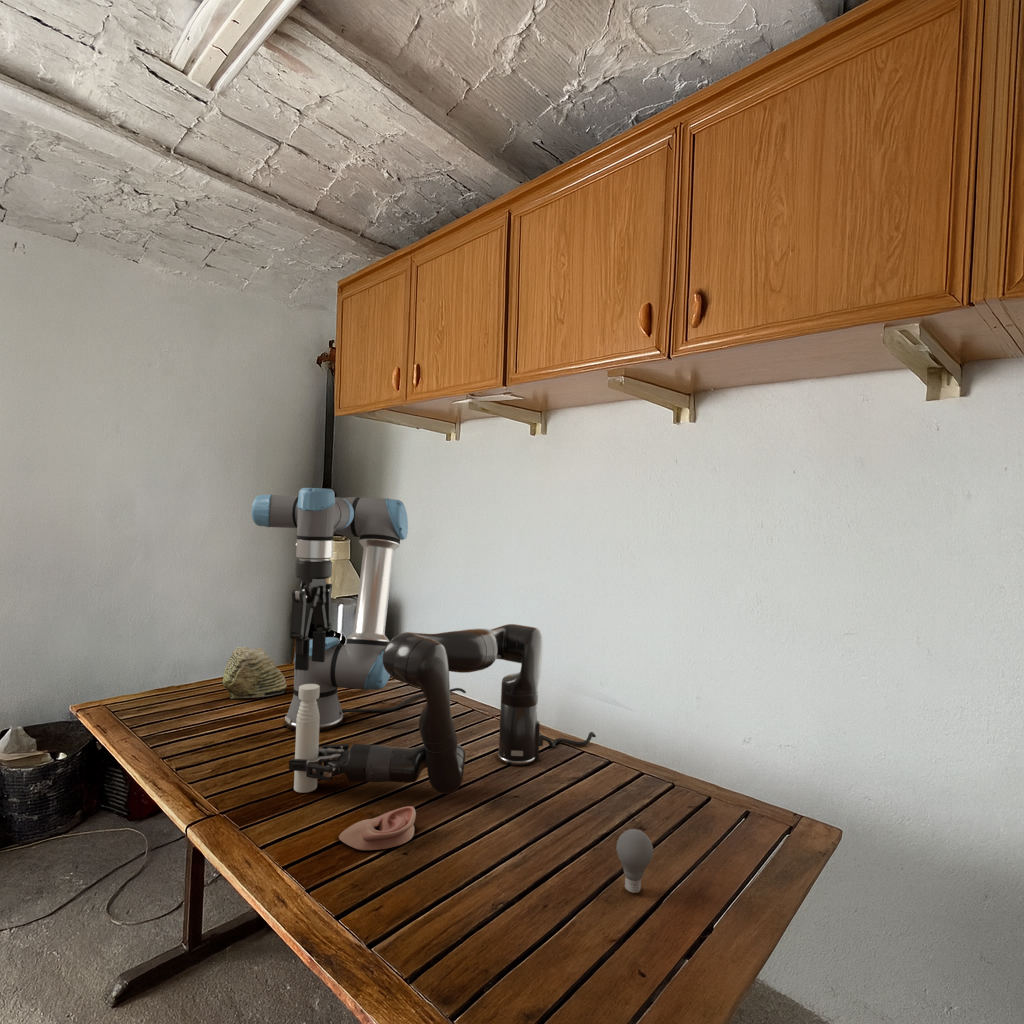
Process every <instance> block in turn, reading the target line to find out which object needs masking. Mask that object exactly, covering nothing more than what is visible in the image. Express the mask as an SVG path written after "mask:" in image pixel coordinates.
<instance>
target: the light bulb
mask: <svg viewBox="0 0 1024 1024" xmlns="http://www.w3.org/2000/svg"><path fill="white" fill-rule="evenodd" d="M615 849H616V854H617V857H618V859H619V861H620V863H621V865H622V867H623V873H624V874H623V875H624V876H625V878H624V888H625V890H627V891H628V892H630V893H634V894H635V893H639V892H640V891H641V889H642V887H641V886H642V879H643V877H644V875H645V871H646V868H647V867H648V866H649V864H650V863H651V861H652V859H653V855H654V847H653V843H652V841H651V838H649V836H648V835H647V834H646V833H645V832H643V831H642V830H641V829H636V828H629V829H627V830H625V831H623V832H622V833H621V834H620V835H619V837H618V839H617V841H616V847H615Z"/></svg>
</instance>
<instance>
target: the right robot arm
mask: <svg viewBox="0 0 1024 1024" xmlns="http://www.w3.org/2000/svg"><path fill="white" fill-rule="evenodd" d="M543 637H544V636H543V633H542V631H541V629H539V628H538V627H534V626H529V625H521V624H514V623H509V624H508V623H507V624H504V625H500V626H498V627H497V626H496V627H494V628H491V629H490V628H489V629H488V628H470V629H469V628H468V629H467V628H466V629H461V630H453V631H445V632H437V633H422V632H412V631H405V632H402V633H399V634H397V635H396V636H394V637H393V638H392V639H390V640H389V643H388V644H387V646H386V648H385V650H384V652H383V657H382V660H383V665H384V668H385V670H386V671H387V672H388V673H389V674H390V677H392V678H394V679H395V680H397V681H400V682H402V683H404V684H408V685H409V686H413V687H415V688H419V689H421V691H422V694H423V693H424V695H425V696H424V697H425V699H426V703H425V705H424V706H423V708H422V710H421V712H420V714H419V719H418V729H419V733H420V738H421V740H422V743H423V745H421V746H417V747H402V746H401V747H400V746H399V747H398V746H390V745H386V744H385V745H384V744H365V743H364V744H363V743H353V744H352V745H351V747H350V744H349V743H342V744H340V743H339V744H323V745H322V746H321V747H319V750H318V759H313V760H306V759H295V758H291V759H289V761H288V770H289V771H293V772H294V771H306V777H310V778H316V779H317V780H321V781H328V782H331V781H333V778H334V777H333V776H334V775H343V774H345V775H346V779H347V780H348V781H349V782H362V783H404V784H405V783H409V784H411V783H415V782H416V781H418V779H419V778H420V775H421V773H422V772H423V770H424V769H426V771H427V778H428V781H429V783H430V785H431V787H432V788H433V789H434V790H435V791H436V792H438V793H440V794H444V795H449V794H453V793H455V792H457V790H458V789H459V788H460V787H461V785H462V783H463V779H464V773H465V772H464V770H465V763H466V752H465V749H464V748H463V746H461V745H460V744H458V736H457V732H456V728H455V723H454V720H453V716H452V715H453V714H452V709H451V692H450V689H451V682H450V672H452V673H461V674H464V673H465V674H467V673H474V672H480V671H483V670H486V669H488V668H489V667H491V666H493V664H494V663H495V662H496V660H501V661H506V662H512V663H516V664H521V666H520V671H519V672H514V673H510V674H506V675H505V676H503V678H502V679H501V685H500V686H501V687H500V688H501V689H500V690H501V691H500V708H499V709H500V711H499V734H498V736H499V737H498V750H497V758H498V760H499V761H500V762H501V763H503V764H506V765H511V766H527V765H530V764H533V763H534V762H537V761H539V756H540V755H539V754H540V747H543V746H544V742H547V743H548V745H549V747H550V748H551V749H554V748H555V747H556V745H557V744H558V743H563V744H564V743H565V744H569V745H572V746H577V747H583V746H587V745H588V744H589V743H590V742H591V740H592V738H597V735H596V734H595V732H593V731H590V732H589V733H588V735H587V738H586V740H583V741H576V740H571V739H569V738H564V737H559V738H554V740H553V741H552V739H551V738H549V737H547V736H545V735H543V734H542V733H541V732H540V731H541V723H540V721H539V720H538V704H539V703H538V702H539V684H540V680H541V674H542V673H541V672H542V662H543V654H544V653H543V652H544V638H543Z"/></svg>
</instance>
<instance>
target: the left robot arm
mask: <svg viewBox="0 0 1024 1024" xmlns="http://www.w3.org/2000/svg"><path fill="white" fill-rule="evenodd" d="M335 495H336V494H335V491H334V489H332V488H321V487H319V488H318V487H302V488H300V489H299V491H298V495H283V494H272V493H271V494H270V493H269V494H259V495H257V496H256V497H255V498H254V500H252V505H251V518H252V519H251V520H252V521H253V523H254V524H255V525H256V526H258V527H265V528H280V529H281V528H285V529H286V528H287V529H296V543H295V547H296V551H295V553H296V554H295V557H296V558H297V560H296V561H295V572H294V573H295V574H294V575H295V577H296V578H298V579H300V585H299V589H298V590H296V589H293V590H292V591H291V599H292V603H291V605H292V606H291V616H290V629H289V638H290V639H291V640H295V654H294V659H293V661H294V670H293V671H294V672H293V695H292V696H293V697H292V699H291V702H290V704H289V708H288V711H287V713H286V715H285V716H284V721H285V726H286V728H287V729H289V730H291V731H294V732H296V718H297V714H298V710H299V706H300V703H301V700H300V699H299V697H298V694H299V686H301V685H304V684H317V685H319V686H320V696H319V698H318V699H316V702H317V705H318V709H319V716H320V724H319V732H325V731H329V730H332V729H335V728H337V727H339V726H340V725H342V723H343V722H344V713H386V712H392V711H395V710H398V709H400V708H401V707H402V706H404V705H406V704H408V703H410V702H411V701H413V700H415V699H417V698H421V697H425V695H424V693H423V692H422V693H419V694H416V695H413V696H410V697H409V698H407V699H405V700H403V701H402V702H401V703H398V704H397V705H396V706H393V707H388V708H342V706H341V702H340V699H339V695H338V688H340V689H354V690H364V691H370V690H371V691H372V690H375V691H376V690H377V691H378V690H382V689H383V688H384V687H385V686H386V685H387V684H388V682H389V680H390V677H391V675H390V674H389V673H388V672H387V671H386V670H385V668H384V665H383V660H382V657H383V652H384V650H385V648H386V646H387V644H388V643H389V642H390V640H389V639H388V637H387V636H386V624H387V615H388V607H389V606H388V605H389V597H390V589H391V580H392V571H393V570H392V569H393V564H394V563H393V562H394V552H395V551H396V550H397V549H398V548H400V546H401V541H403V540H406V539H407V537H408V533H409V519H408V513H407V508H406V506H405V504H404V502H403V501H402V500H400V499H395V498H389V497H386V498H383V497H382V498H379V497H356V496H352V497H351V496H350V497H340V496H338V497H337V496H335ZM334 534H336V535H340V536H346V537H352V538H353V537H355V538H359V540H358V543H359V544H360V545H361V547H362V549H363V551H362V559H361V560H362V561H361V568H360V576H359V585H358V592H357V601H356V609H355V616H354V624H353V631H352V633H351V634H350V635H348V636H347V638H346V643H345V644H341V641H340V639H339V638H338V637H334V636H326V635H327V634H326V632H327V633H329V632H331V630H332V593H333V584H332V583H328V582H327V579H330V578H331V577H332V575H333V562H332V560H330V559H332V558H333V556H334V555H333V554H334V553H333V552H334ZM312 617H313V622H314V630H315V631H312V639H310V638H308V637H309V631H310V627H311V621H312ZM456 691H457V692H461V693H462V694H467V691H466V690H465V689H463V688H460V687H454V688H450V693H452V692H456Z"/></svg>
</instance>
